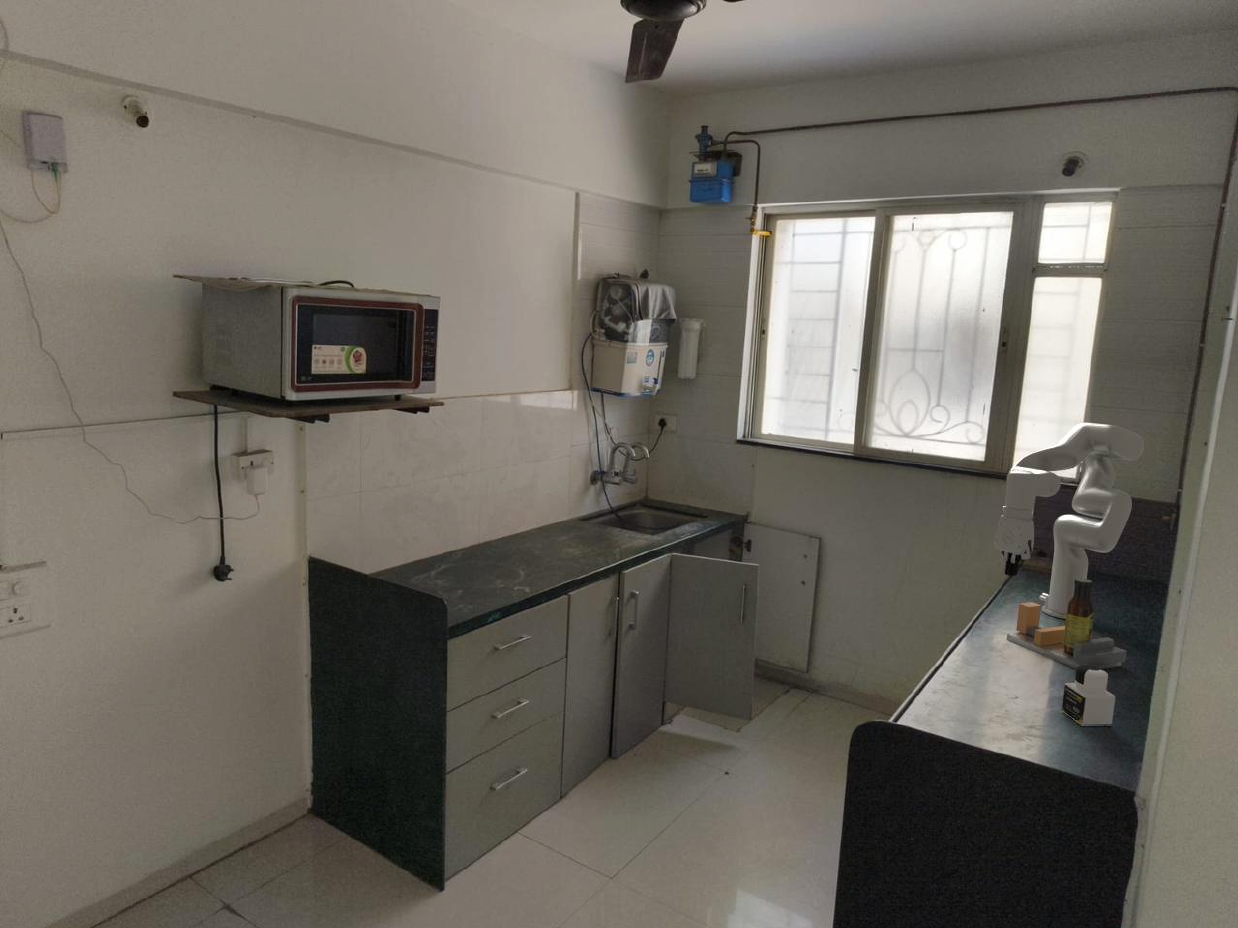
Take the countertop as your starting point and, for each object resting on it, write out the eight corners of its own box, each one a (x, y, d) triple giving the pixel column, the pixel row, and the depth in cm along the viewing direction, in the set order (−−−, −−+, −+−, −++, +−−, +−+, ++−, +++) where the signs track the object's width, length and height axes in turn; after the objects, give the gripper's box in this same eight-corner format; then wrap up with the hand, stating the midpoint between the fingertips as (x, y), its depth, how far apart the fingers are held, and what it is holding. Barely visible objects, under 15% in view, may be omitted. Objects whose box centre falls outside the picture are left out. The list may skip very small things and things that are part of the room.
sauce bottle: (1092, 657, 209) (1102, 585, 206) (1067, 655, 210) (1076, 582, 207) (1083, 648, 215) (1092, 578, 212) (1058, 646, 216) (1067, 575, 213)
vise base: (1006, 638, 225) (1009, 616, 224) (1042, 634, 230) (1045, 612, 229) (1086, 673, 202) (1089, 649, 201) (1124, 667, 207) (1127, 643, 206)
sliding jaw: (1007, 631, 226) (1010, 604, 225) (1038, 628, 230) (1041, 601, 229) (1039, 645, 216) (1043, 617, 215) (1071, 641, 220) (1075, 613, 219)
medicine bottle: (1060, 712, 179) (1066, 661, 177) (1090, 712, 179) (1096, 661, 178) (1081, 727, 172) (1088, 674, 170) (1112, 727, 172) (1119, 674, 171)
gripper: (987, 508, 234) (980, 568, 237) (1030, 519, 220) (1022, 583, 223) (1006, 508, 237) (999, 567, 240) (1049, 518, 223) (1041, 581, 226)
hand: (1010, 574), depth 231 cm, fingers closed
